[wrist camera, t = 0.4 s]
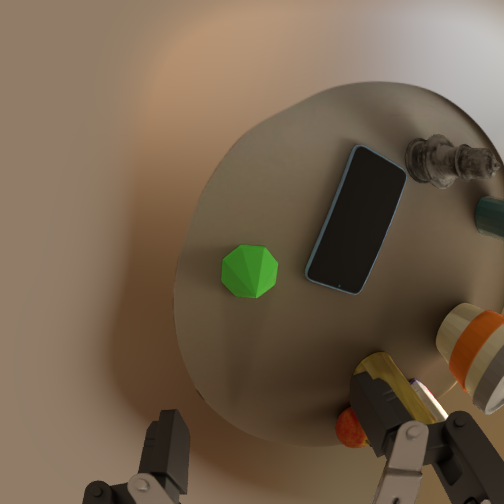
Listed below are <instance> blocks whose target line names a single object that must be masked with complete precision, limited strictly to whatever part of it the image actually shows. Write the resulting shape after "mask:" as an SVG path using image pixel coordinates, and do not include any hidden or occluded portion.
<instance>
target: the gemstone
mask: <svg viewBox="0 0 504 504" xmlns="http://www.w3.org/2000/svg"><path fill="white" fill-rule="evenodd" d="M277 269H278V262H277V261H276V260H275V259H274V258H273V256H272V255H271V254H270V253H269V252H268V250H267V249H266V248H265V247H264V246H254V245H242V244H241V245H240V246H238V247H237V248H236V249H235V250H233V251H232V252H231V253H230V254H228V255H227V256H226V257H225V258H223V261H222V274H221V282H222V283H223V284H224V285H225V286H226V287H227V288H228V289H229V290H230V291H231V292H232V293H233V294H234V295H235V297H249V298H258V297H260V296H261V295H262V294H264V293H265V292H266V291H267V290H269V289H270V288H271V287H273V286H274V285H275V282H276V275H277Z"/></svg>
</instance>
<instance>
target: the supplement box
mask: <svg viewBox="0 0 504 504" xmlns="http://www.w3.org/2000/svg"><path fill="white" fill-rule="evenodd" d="M410 385H411V386H412V388H413V389H414V390H415V392H416V393H417V394H418V396H419V397H420V398H421V400H422V401H423V402H424V404H425V405H426V407H427V408H428V409H429V410H430V412H431V413H432V414H433V416H434V417H435V418H436V420H437V421H438V422H442V421H446V419H447V417H448V415H447V414H446V412H445V411H444V410H443V408H442V407H441V406H440V405H439V403H438V402H437V401H436V399H435V398H434V397H433V395H432V394H431V393H430V392H429V390H428V389H427V388H426V387H425V386H424V385H423V384H422V383H420V382H419V381H418V380H416V379H415V378H414V379H413V380H412V381H411V382H410Z"/></svg>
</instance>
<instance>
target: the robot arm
mask: <svg viewBox="0 0 504 504" xmlns="http://www.w3.org/2000/svg"><path fill="white" fill-rule="evenodd" d="M349 398H350V404H351V407H352V409H353V411H354V413H355V415H356V417H357V419H358V421H359V423H360V425H361V426H362V428H363V430H364V432H365V434H366V436H367V438H368V440H369V442H370V444H371V446H372V448H373V450H374V452H375V454H376V456H377V457H380V456H382V455H385V456H386V459H387V461H386V465H385V468H384V470H383V473H382V476H381V479H380V482H379V485H378V487H377V490H376V492H375V495H374V497H373V499H372V501H371V503H370V504H415V501H416V499H417V495H418V491H419V488H420V484H421V480H422V473H421V469H422V466H424V465H428V464H432V466H433V468H434V470H435V471H436V474H437V475H438V477H439V479H440V481H441V483H442V485H443V487H444V489H445V491H446V493H447V495H448V497H449V499H450V501H451V503H452V504H504V462H503V460H502V459H501V457H500V456H499V454H498V453H497V451H496V450H495V448H494V447H493V445H492V444H491V443H490V441H489V440H488V438H487V437H486V435H485V434H484V433H483V431H482V430H481V429H480V427H479V426H478V424H477V423H476V422H475V420H474V419H473V418H472V416H471V415H470V414H469V413H467V412H465V411H455V412H453V413H451V414H450V415H449V416H448V417H447V419H446V421H442V422H438V423H433V424H424V423H423V422H421V421H416V420H414V419H413V418H412V416H411V415H410V413H409V412H408V410H407V409H406V408H405V406H404V405H403V403H402V402H401V401H400V399H399V398H398V397H397V395H396V394H395V392H393V389H392V388H391V387H390V385H389V384H388V383H387V382H386V381H384V380H383V379H381V378H376V379H373V378H372V377H371V375H370V374H369V373H368V372H367V371H364V372H361V373H358V374H355V375H352V376H351V379H350V395H349ZM189 449H190V433H189V430H188V427H187V425H186V424H185V422H184V420H183V418H182V416H181V415H180V413H179V411H178V410H177V409H175V410H174V409H173V410H162V411H161V412H160V417H159V421H153V422H152V423H151V424H150V426H149V427H148V429H147V432H146V437H145V442H144V447H143V451H142V456H141V461H140V466H139V471H138V473H137V474H136V475H134V476H133V477H132V478H131V479H130V480H129V481H128V482H127V483H124V484H118V485H112V486H109V485H108V484H107V483H105V482H103V481H94V482H91V483H90V484H89V485H88V486H87V487H86V489H85V493H84V498H83V503H82V504H181V503H180V502H179V494H187V485H188V465H189V464H188V463H189Z"/></svg>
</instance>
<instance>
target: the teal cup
mask: <svg viewBox="0 0 504 504" xmlns="http://www.w3.org/2000/svg"><path fill="white" fill-rule="evenodd" d="M475 222H476V227H477V229H478V231H479V232H480V233H482V234H485V235H487V236H490V237H493V238H495V239H498V240H501V241H503V242H504V199H501V198H496V197H491V196H484V197H482V198H481V199H480V201H479V202H478V205H477V208H476V213H475Z"/></svg>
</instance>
